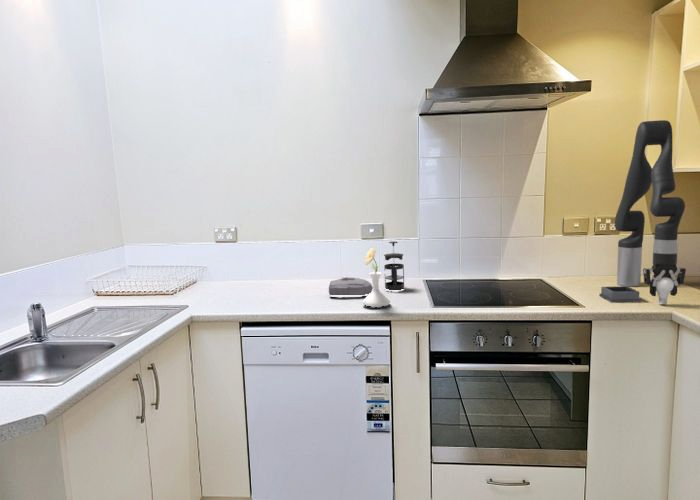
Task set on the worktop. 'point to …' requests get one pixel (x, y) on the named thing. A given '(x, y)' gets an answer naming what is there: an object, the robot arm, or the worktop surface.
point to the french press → (394, 271)
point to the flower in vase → (374, 284)
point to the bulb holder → (619, 294)
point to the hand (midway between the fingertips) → (663, 295)
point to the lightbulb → (664, 289)
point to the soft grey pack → (350, 287)
